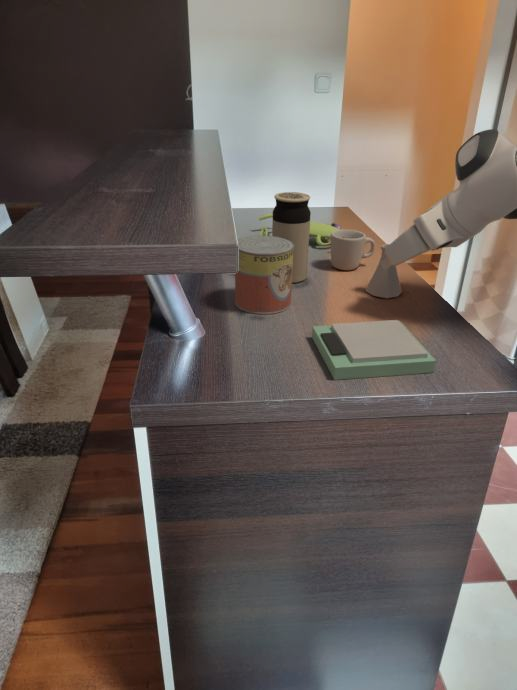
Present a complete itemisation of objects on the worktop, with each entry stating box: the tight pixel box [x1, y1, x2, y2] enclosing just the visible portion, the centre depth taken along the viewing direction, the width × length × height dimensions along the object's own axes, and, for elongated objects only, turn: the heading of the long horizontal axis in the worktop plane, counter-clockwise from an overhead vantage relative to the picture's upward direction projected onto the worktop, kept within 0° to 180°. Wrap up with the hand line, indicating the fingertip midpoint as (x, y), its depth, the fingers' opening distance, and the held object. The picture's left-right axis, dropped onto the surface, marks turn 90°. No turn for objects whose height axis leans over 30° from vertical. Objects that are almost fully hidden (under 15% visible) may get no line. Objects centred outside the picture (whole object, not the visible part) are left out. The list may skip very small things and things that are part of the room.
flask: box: [364, 243, 402, 299], centre depth 106 cm, size 7×7×10 cm
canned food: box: [234, 235, 294, 315], centre depth 100 cm, size 11×11×12 cm
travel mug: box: [271, 191, 312, 284], centre depth 111 cm, size 8×8×18 cm
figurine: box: [258, 212, 342, 247], centre depth 138 cm, size 18×27×6 cm
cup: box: [330, 229, 376, 271], centre depth 120 cm, size 11×8×8 cm
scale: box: [311, 319, 437, 381], centre depth 84 cm, size 16×14×3 cm
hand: (396, 260), depth 104 cm, fingers open, 8 cm apart
